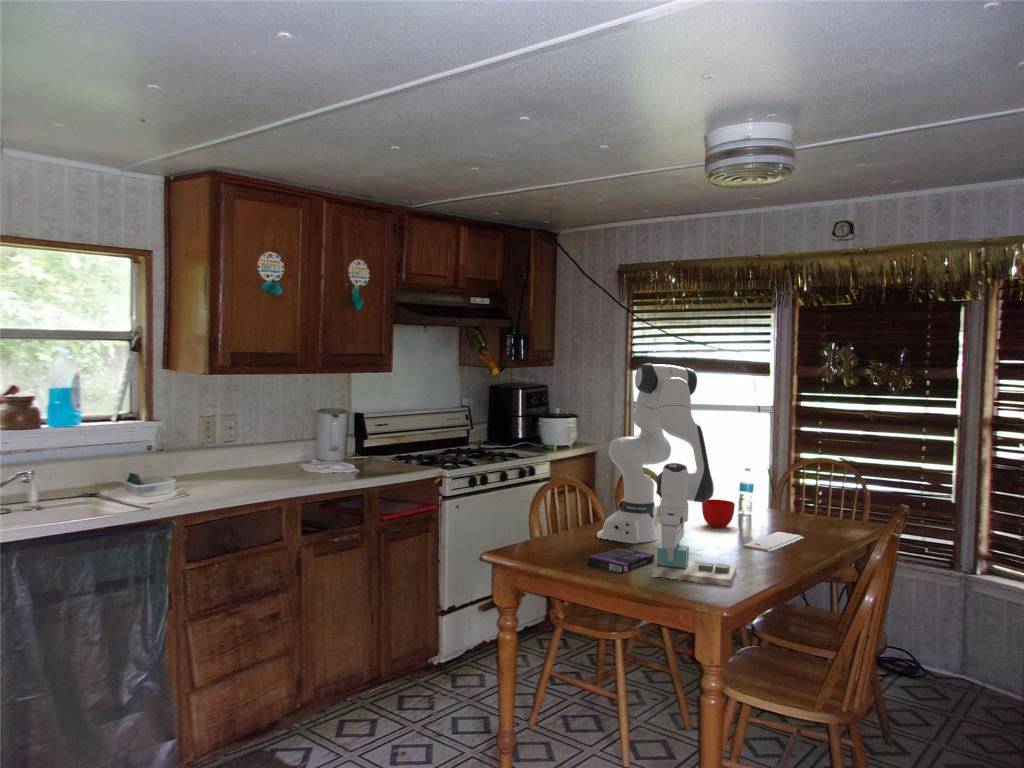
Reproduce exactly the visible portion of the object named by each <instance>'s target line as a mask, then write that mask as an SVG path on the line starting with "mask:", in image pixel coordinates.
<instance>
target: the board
mask: <svg viewBox="0 0 1024 768" xmlns="http://www.w3.org/2000/svg"><path fill="white" fill-rule="evenodd" d="M700 562H702V561H699V560H690V559H689V564H688V566H687V568H686V569H676V568H667V567H658V566H657V564H656V565H655V566H654V568H652V570H651V578H655V577H662V578H661V579H664V578H670V579H669V580H672V579H679V580H678V581H681V580H688V581H687V582H689V581H695V582H694V583H698V582H703V583H702V584H706V583H712V584H711V585H714V584H719V585H718V586H723V585H727V586H726V587H731V586H732V584H731V583H733V580H734V579H735V575H736V573H737V565H736V564H729V563H728V564H727V563H726V564H725V563H722V564H723V565H730V566H729V572H728V573H720V572H715V566H716V564H720V563H718V562H712V563H713V570H712V572H711V571H702V570H699V564H700ZM703 562H704V563H711V562H708V561H707V562H706V561H703ZM733 578H734V579H733Z"/></svg>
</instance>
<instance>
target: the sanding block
mask: <svg viewBox="0 0 1024 768" xmlns="http://www.w3.org/2000/svg"><path fill="white" fill-rule="evenodd" d="M656 552H657V553H656V555H657V556H656V565H657V566H658V567H667V568H676V569H686V568H687V566H688V564H689V560H690V559H689V557H690V553H689V552H690V546H689V545H683V544H681V545H680V544H679V545H677V546H676V547H675V549H674V560H673V561H669V560H668V554H667V549H663V547H662V542H661V543H660V544H659V545H658V546H657V551H656Z"/></svg>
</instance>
